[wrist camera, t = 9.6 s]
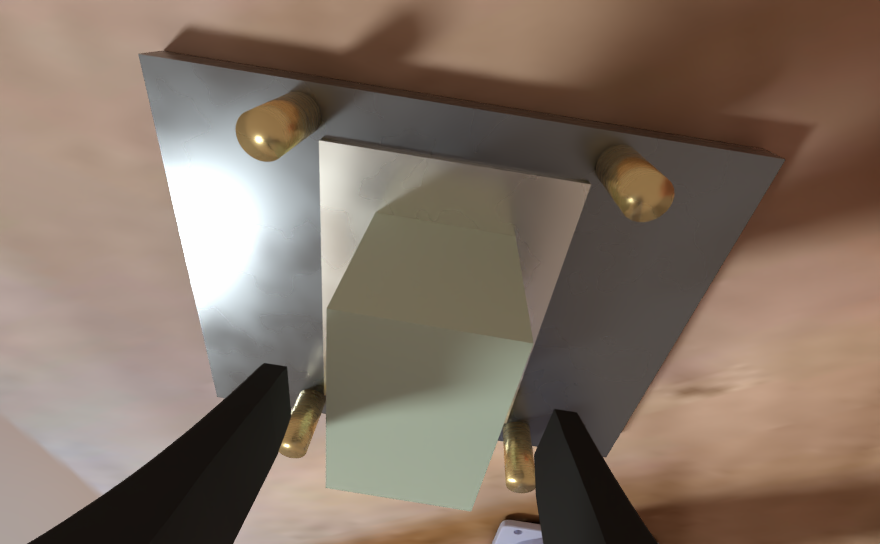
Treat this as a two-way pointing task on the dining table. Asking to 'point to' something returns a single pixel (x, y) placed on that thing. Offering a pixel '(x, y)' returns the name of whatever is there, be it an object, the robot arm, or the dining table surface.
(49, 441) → the dining table surface
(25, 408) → the dining table surface
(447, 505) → the board block
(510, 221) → the chassis
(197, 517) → the robot arm
